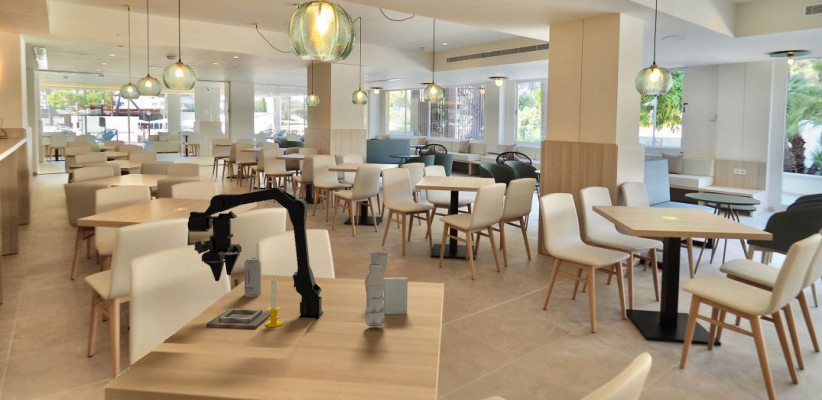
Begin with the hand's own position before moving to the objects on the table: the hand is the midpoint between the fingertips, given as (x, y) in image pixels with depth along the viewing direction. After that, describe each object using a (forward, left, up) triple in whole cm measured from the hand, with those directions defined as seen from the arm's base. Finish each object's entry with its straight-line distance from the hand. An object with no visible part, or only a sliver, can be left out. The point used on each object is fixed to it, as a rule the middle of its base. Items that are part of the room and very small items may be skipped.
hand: (223, 278), depth 182 cm
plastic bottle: (-52, +5, -13) cm, 54 cm away
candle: (-20, +8, -13) cm, 25 cm away
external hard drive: (-57, -10, -13) cm, 59 cm away
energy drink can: (-1, -23, -13) cm, 26 cm away
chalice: (-49, -24, -13) cm, 56 cm away
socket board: (-8, +5, -13) cm, 16 cm away
